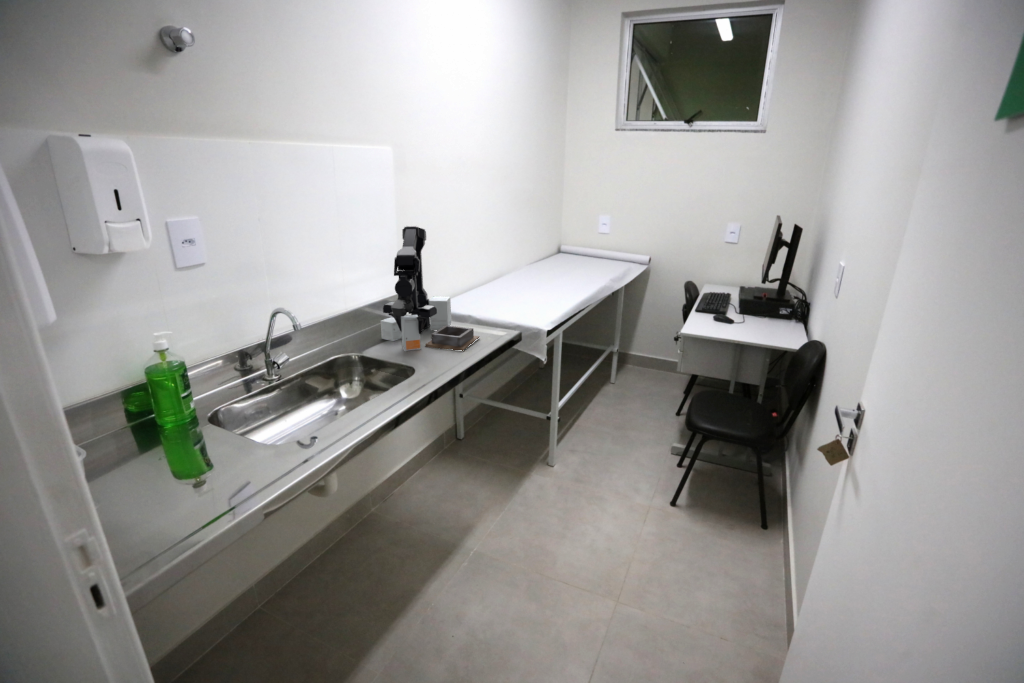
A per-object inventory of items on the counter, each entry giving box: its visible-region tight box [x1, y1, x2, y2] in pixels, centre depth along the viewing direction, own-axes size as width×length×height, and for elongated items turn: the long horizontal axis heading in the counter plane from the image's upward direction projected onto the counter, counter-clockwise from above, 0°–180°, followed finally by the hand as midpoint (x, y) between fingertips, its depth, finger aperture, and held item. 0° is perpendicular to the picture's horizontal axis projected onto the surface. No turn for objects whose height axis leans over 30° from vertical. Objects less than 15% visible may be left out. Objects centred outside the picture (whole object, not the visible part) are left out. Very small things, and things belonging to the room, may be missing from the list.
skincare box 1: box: [380, 316, 402, 342], centre depth 192 cm, size 6×6×7 cm
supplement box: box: [429, 296, 452, 331], centre depth 203 cm, size 7×7×13 cm
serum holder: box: [424, 325, 480, 352], centre depth 188 cm, size 15×15×4 cm
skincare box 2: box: [401, 314, 422, 352], centre depth 180 cm, size 6×4×12 cm
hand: (411, 332), depth 180 cm, fingers open, 7 cm apart
